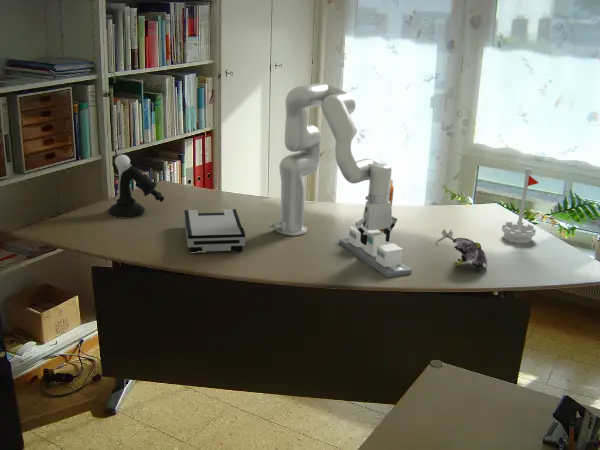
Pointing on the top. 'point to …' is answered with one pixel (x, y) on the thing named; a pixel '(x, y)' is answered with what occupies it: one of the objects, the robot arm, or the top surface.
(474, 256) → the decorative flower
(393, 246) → the block
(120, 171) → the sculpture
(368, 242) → the block
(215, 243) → the game console
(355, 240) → the module left
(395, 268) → the din rail
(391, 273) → the rail board
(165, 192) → the top surface
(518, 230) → the flag stand
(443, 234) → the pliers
